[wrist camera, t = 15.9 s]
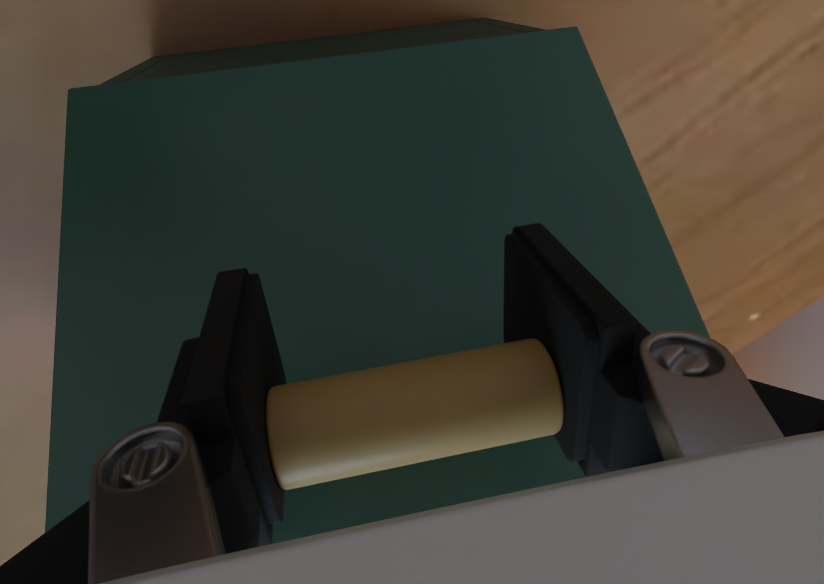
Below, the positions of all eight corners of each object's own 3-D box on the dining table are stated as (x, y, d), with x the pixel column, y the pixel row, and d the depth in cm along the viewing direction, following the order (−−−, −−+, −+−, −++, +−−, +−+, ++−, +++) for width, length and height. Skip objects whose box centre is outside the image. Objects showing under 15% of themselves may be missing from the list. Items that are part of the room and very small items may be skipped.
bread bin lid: (743, 461, 14) (932, 434, 9) (60, 613, 12) (-163, 682, 7) (570, 43, 19) (630, -114, 14) (80, 105, 17) (-39, -50, 13)
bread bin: (490, 254, 35) (551, 342, 26) (228, 298, 33) (203, 407, 24) (486, 17, 28) (568, 33, 19) (151, 57, 26) (78, 94, 17)
